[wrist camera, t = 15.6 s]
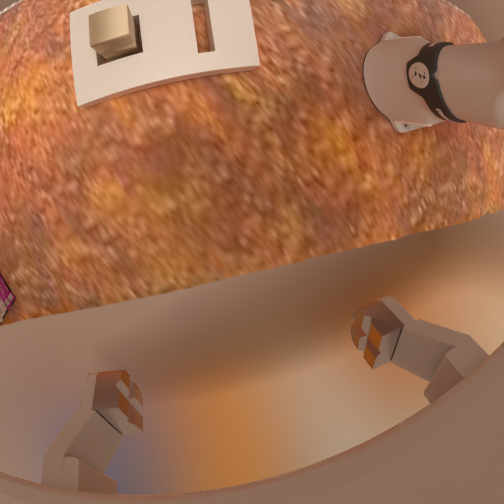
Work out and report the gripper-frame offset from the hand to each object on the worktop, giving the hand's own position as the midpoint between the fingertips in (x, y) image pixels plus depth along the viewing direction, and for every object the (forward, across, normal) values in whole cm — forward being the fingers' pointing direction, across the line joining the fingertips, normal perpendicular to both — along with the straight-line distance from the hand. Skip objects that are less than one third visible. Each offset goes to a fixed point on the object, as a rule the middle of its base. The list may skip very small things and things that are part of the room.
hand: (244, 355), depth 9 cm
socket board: (+31, +1, -20) cm, 37 cm away
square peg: (+31, +6, -20) cm, 37 cm away
